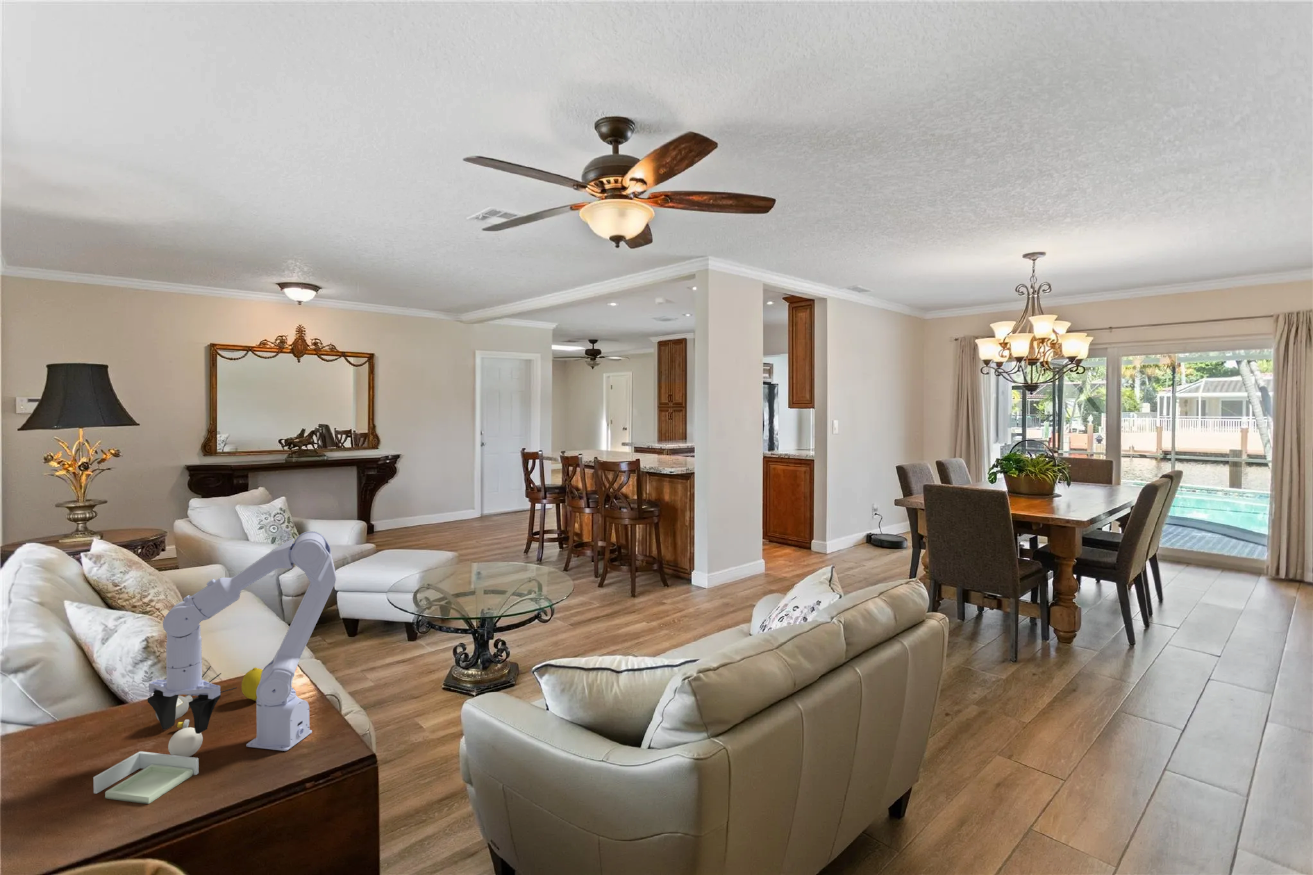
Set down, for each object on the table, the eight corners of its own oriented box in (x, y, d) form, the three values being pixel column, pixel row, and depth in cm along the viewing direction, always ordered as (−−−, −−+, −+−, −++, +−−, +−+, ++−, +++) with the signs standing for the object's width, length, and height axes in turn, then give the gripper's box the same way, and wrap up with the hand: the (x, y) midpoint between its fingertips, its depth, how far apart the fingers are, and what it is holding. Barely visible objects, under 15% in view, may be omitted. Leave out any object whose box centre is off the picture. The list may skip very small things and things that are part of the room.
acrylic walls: (198, 773, 123) (198, 757, 123) (156, 801, 114) (155, 784, 114) (140, 766, 125) (139, 751, 125) (93, 793, 116) (93, 777, 116)
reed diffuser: (154, 693, 138) (218, 656, 158) (134, 716, 138) (201, 677, 158) (190, 723, 138) (250, 683, 158) (171, 747, 138) (233, 704, 158)
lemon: (259, 706, 151) (259, 672, 150) (236, 705, 151) (235, 672, 150) (274, 695, 156) (273, 663, 156) (251, 694, 156) (251, 662, 156)
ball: (209, 750, 131) (209, 723, 131) (185, 765, 126) (185, 737, 125) (185, 747, 132) (185, 721, 132) (161, 762, 127) (160, 734, 126)
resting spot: (192, 775, 122) (192, 769, 122) (148, 803, 114) (148, 797, 113) (151, 770, 124) (151, 764, 124) (105, 798, 115) (105, 791, 115)
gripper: (133, 667, 125) (134, 735, 126) (199, 674, 123) (199, 743, 124) (166, 654, 132) (167, 718, 133) (228, 659, 130) (229, 725, 131)
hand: (184, 729), depth 129 cm, fingers open, 7 cm apart
